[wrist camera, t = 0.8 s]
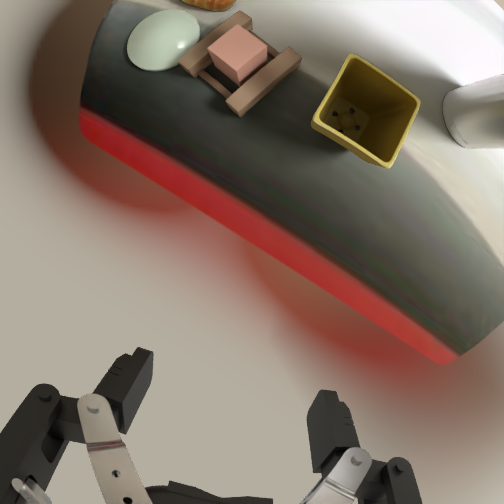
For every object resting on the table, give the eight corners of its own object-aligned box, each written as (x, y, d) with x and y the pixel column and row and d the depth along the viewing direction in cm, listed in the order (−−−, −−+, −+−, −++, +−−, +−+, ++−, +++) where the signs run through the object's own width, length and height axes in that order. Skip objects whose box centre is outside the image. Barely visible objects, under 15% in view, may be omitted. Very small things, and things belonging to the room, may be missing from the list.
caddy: (241, 22, 27) (239, 10, 24) (298, 66, 29) (302, 57, 26) (184, 69, 29) (177, 61, 26) (240, 117, 31) (238, 112, 28)
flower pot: (359, 170, 32) (390, 170, 23) (298, 133, 31) (311, 119, 23) (387, 114, 30) (422, 101, 21) (329, 77, 29) (350, 50, 20)
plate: (168, 2, 26) (166, -1, 25) (216, 33, 28) (215, 30, 27) (117, 50, 28) (114, 48, 27) (159, 84, 30) (157, 82, 29)
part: (241, 45, 28) (237, 23, 22) (266, 65, 29) (267, 46, 23) (215, 67, 29) (207, 48, 23) (240, 87, 30) (236, 71, 24)
